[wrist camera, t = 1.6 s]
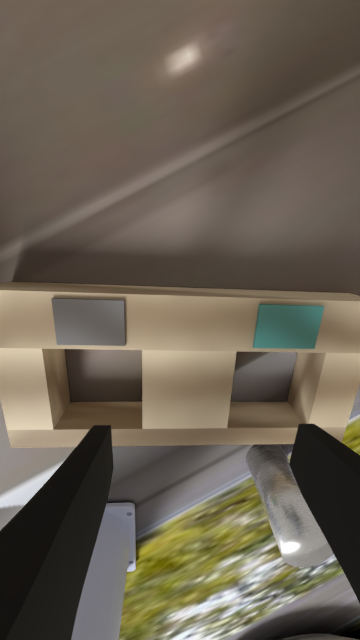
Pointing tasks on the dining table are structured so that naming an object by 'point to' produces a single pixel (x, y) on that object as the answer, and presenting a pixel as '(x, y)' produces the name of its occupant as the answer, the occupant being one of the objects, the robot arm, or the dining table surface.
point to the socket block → (175, 362)
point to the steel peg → (286, 507)
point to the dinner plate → (318, 637)
